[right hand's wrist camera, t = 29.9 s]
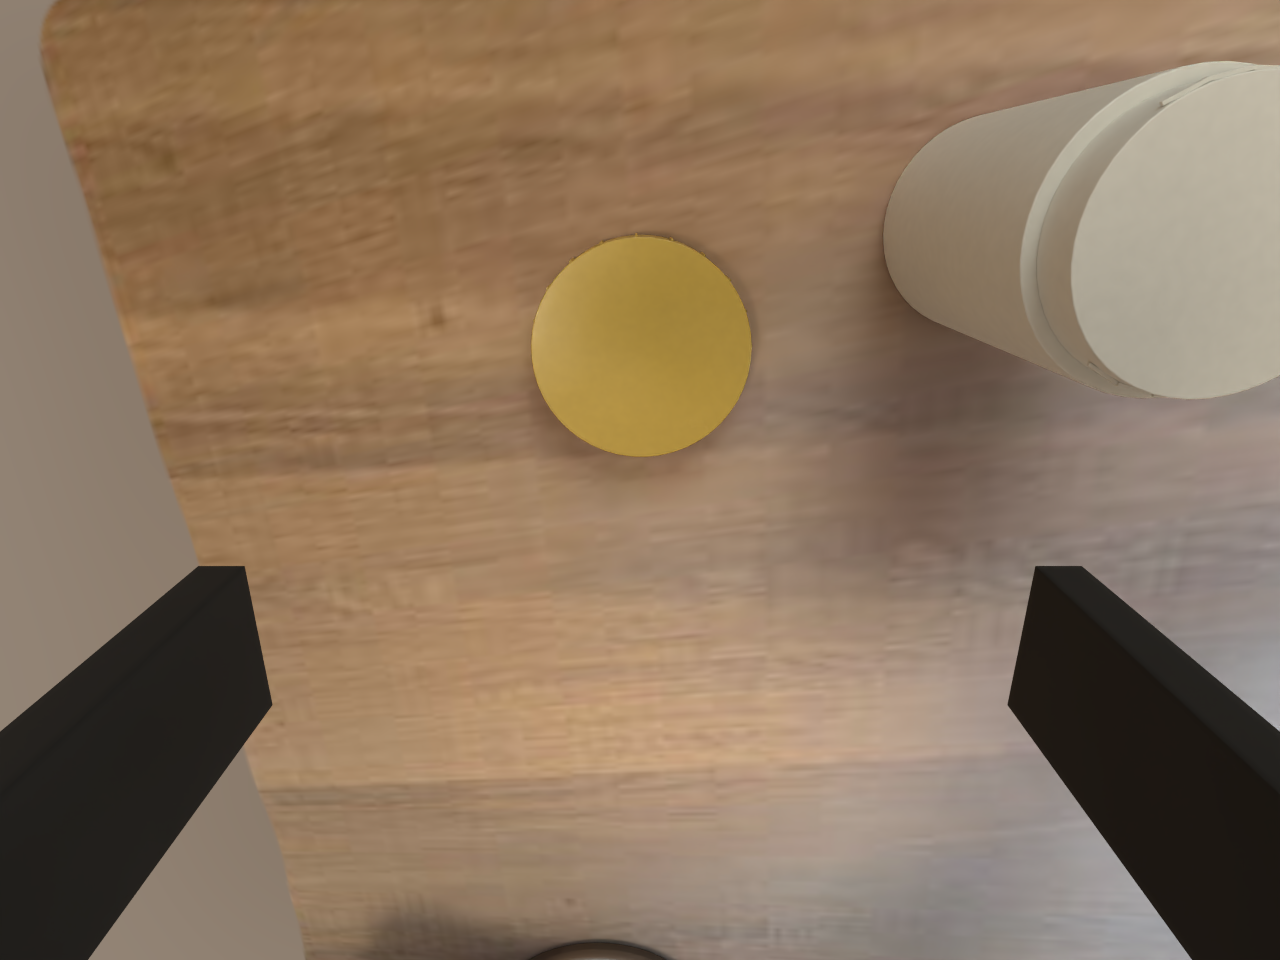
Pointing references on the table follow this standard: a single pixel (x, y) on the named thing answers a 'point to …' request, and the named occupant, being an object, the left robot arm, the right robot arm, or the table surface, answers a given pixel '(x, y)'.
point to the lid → (641, 346)
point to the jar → (1108, 232)
